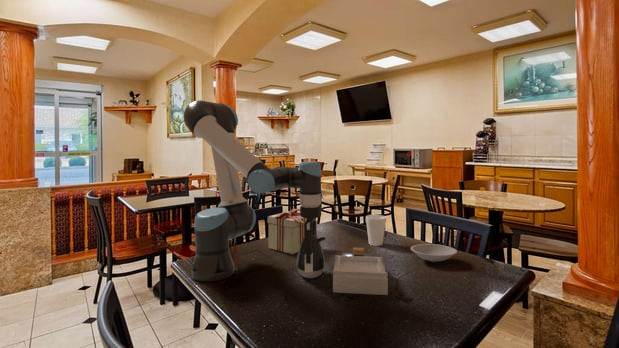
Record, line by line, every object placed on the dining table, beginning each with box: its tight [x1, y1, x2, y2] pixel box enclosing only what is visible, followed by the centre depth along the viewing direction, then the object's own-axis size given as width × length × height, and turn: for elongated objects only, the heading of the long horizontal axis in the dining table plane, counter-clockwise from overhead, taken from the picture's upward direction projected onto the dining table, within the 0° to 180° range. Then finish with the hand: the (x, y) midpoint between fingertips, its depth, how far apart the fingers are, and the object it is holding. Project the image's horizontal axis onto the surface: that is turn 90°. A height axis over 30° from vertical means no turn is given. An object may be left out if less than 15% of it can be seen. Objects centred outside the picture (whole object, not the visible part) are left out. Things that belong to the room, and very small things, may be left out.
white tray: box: [332, 247, 389, 296], centre depth 110 cm, size 17×23×8 cm
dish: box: [410, 243, 458, 263], centre depth 126 cm, size 18×14×5 cm
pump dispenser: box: [296, 235, 326, 279], centre depth 113 cm, size 10×10×15 cm
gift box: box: [266, 208, 307, 255], centre depth 145 cm, size 17×18×17 cm
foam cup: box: [365, 214, 387, 247], centre depth 150 cm, size 10×9×13 cm
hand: (311, 265), depth 113 cm, fingers open, 12 cm apart
